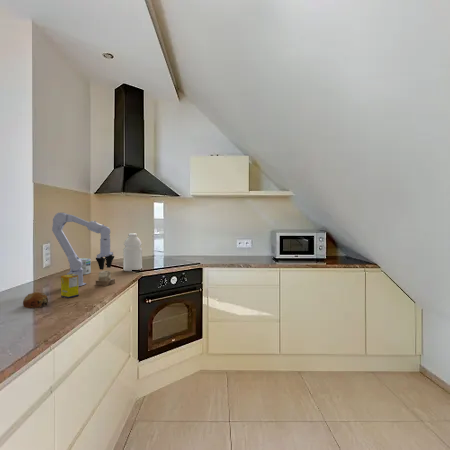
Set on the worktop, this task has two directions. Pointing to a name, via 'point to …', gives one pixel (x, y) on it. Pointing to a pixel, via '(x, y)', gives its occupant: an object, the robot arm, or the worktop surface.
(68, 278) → the supplement box
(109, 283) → the walnut block
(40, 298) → the bread roll
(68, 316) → the worktop surface
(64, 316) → the worktop surface
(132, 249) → the bottle
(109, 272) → the maple cube
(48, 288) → the worktop surface
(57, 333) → the worktop surface
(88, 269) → the light bulb box
